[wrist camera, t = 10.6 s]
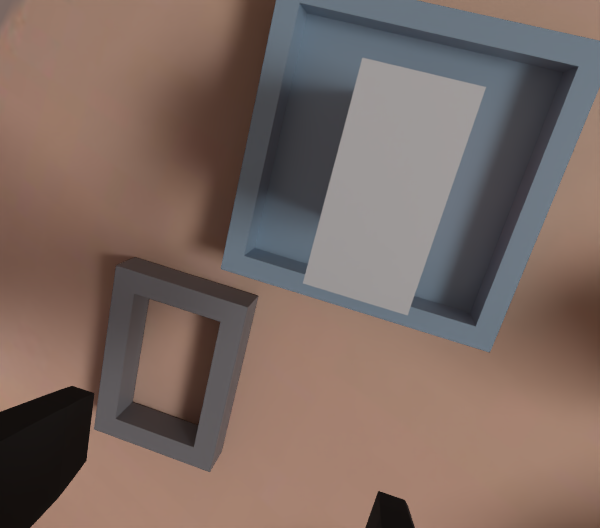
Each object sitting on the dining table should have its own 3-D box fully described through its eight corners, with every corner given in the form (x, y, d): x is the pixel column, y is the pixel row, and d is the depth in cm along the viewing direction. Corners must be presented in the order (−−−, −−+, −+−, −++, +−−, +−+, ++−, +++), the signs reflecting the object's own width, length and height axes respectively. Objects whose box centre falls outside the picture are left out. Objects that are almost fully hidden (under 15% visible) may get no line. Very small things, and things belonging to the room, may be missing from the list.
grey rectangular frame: (112, 412, 24) (93, 429, 23) (134, 257, 22) (115, 265, 20) (221, 451, 23) (209, 472, 22) (258, 296, 21) (248, 307, 19)
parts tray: (237, 257, 21) (220, 268, 19) (295, -11, 17) (281, -30, 15) (481, 331, 19) (489, 352, 17) (591, 55, 16) (616, 44, 14)
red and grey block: (342, 224, 19) (302, 283, 11) (379, 93, 17) (362, 57, 10) (404, 242, 18) (407, 315, 11) (447, 110, 17) (485, 87, 9)
